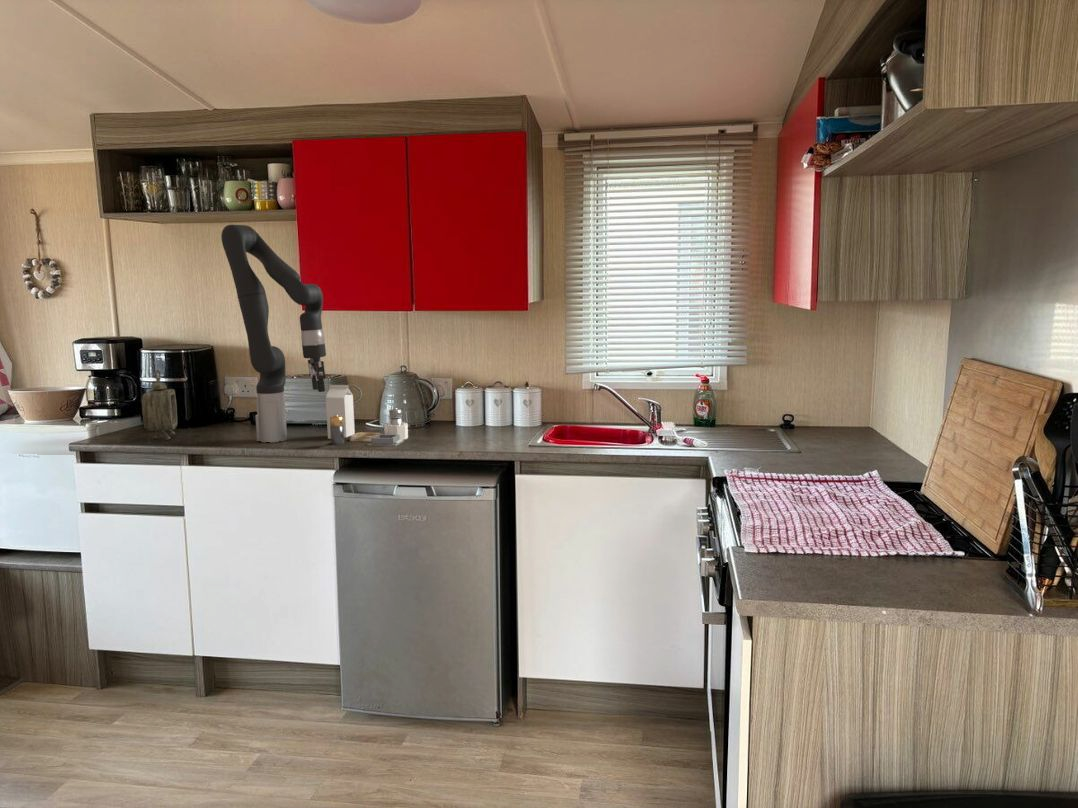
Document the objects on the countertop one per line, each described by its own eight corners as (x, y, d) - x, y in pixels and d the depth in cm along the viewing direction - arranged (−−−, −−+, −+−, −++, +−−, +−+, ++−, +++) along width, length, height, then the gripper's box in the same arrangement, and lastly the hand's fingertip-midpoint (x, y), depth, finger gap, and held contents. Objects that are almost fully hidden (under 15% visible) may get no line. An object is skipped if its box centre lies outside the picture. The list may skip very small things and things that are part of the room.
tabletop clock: (172, 441, 278) (166, 371, 274) (144, 443, 275) (138, 372, 272) (178, 434, 292) (173, 367, 288) (152, 436, 289) (146, 368, 286)
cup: (382, 442, 271) (382, 425, 270) (390, 438, 278) (389, 422, 277) (403, 442, 270) (402, 426, 269) (410, 438, 277) (409, 422, 276)
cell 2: (388, 439, 272) (387, 409, 271) (392, 436, 276) (391, 407, 275) (400, 439, 271) (399, 409, 270) (404, 437, 276) (403, 407, 274)
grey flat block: (366, 447, 261) (366, 438, 261) (376, 442, 270) (376, 433, 270) (395, 448, 260) (395, 439, 259) (404, 443, 268) (404, 434, 268)
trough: (349, 443, 270) (349, 436, 270) (357, 439, 277) (357, 432, 276) (374, 443, 269) (374, 436, 268) (382, 439, 275) (381, 432, 275)
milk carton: (346, 439, 277) (343, 386, 274) (327, 439, 279) (325, 386, 276) (354, 435, 284) (352, 383, 281) (336, 435, 285) (334, 383, 283)
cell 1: (329, 446, 264) (327, 415, 263) (334, 444, 268) (332, 413, 267) (341, 447, 263) (339, 415, 262) (346, 444, 268) (345, 413, 266)
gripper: (298, 343, 270) (303, 390, 273) (306, 345, 258) (312, 393, 260) (319, 341, 274) (325, 387, 276) (329, 342, 261) (334, 391, 264)
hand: (318, 390), depth 268 cm, fingers open, 8 cm apart
